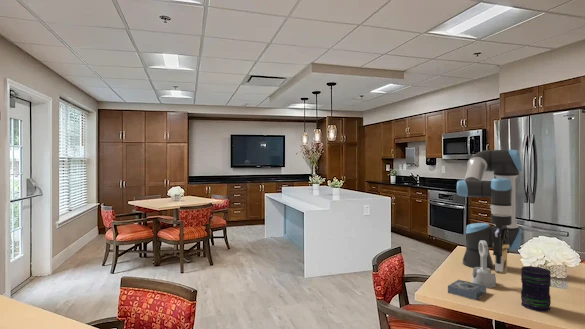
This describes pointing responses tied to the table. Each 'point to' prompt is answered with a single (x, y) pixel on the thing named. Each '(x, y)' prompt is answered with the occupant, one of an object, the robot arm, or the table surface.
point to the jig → (467, 289)
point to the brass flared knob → (504, 259)
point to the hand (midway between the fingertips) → (501, 269)
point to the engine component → (483, 269)
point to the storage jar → (535, 288)
